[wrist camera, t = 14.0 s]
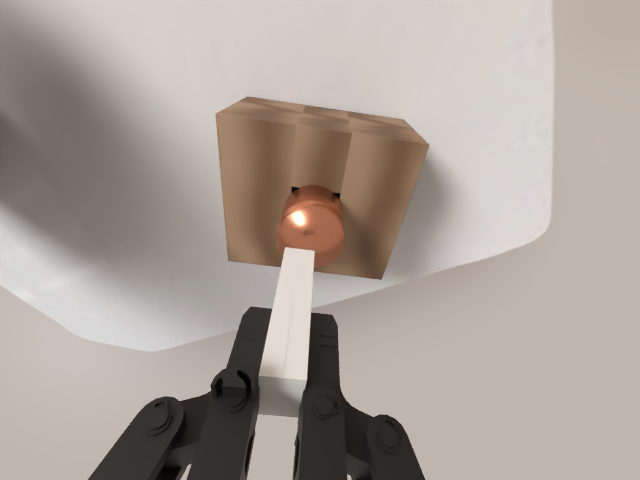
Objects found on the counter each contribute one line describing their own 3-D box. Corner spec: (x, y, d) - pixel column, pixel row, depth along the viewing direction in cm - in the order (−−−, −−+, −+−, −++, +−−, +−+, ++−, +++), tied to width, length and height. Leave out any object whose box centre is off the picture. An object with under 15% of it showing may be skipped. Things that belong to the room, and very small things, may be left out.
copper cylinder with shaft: (290, 203, 30) (274, 263, 22) (294, 157, 27) (276, 206, 19) (336, 209, 31) (338, 271, 22) (345, 164, 28) (350, 216, 19)
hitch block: (250, 216, 35) (228, 260, 28) (247, 96, 27) (215, 113, 20) (371, 232, 36) (381, 279, 28) (403, 119, 28) (429, 144, 20)
